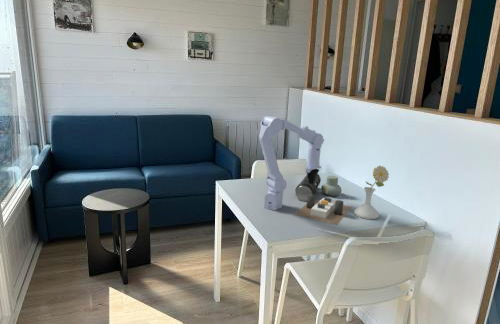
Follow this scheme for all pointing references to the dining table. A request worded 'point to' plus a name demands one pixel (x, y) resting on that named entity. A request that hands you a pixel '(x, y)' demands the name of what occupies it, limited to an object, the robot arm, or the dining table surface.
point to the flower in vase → (367, 209)
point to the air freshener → (331, 186)
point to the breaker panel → (330, 217)
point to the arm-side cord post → (310, 201)
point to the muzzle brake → (307, 188)
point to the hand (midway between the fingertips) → (311, 183)
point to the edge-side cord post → (338, 207)
